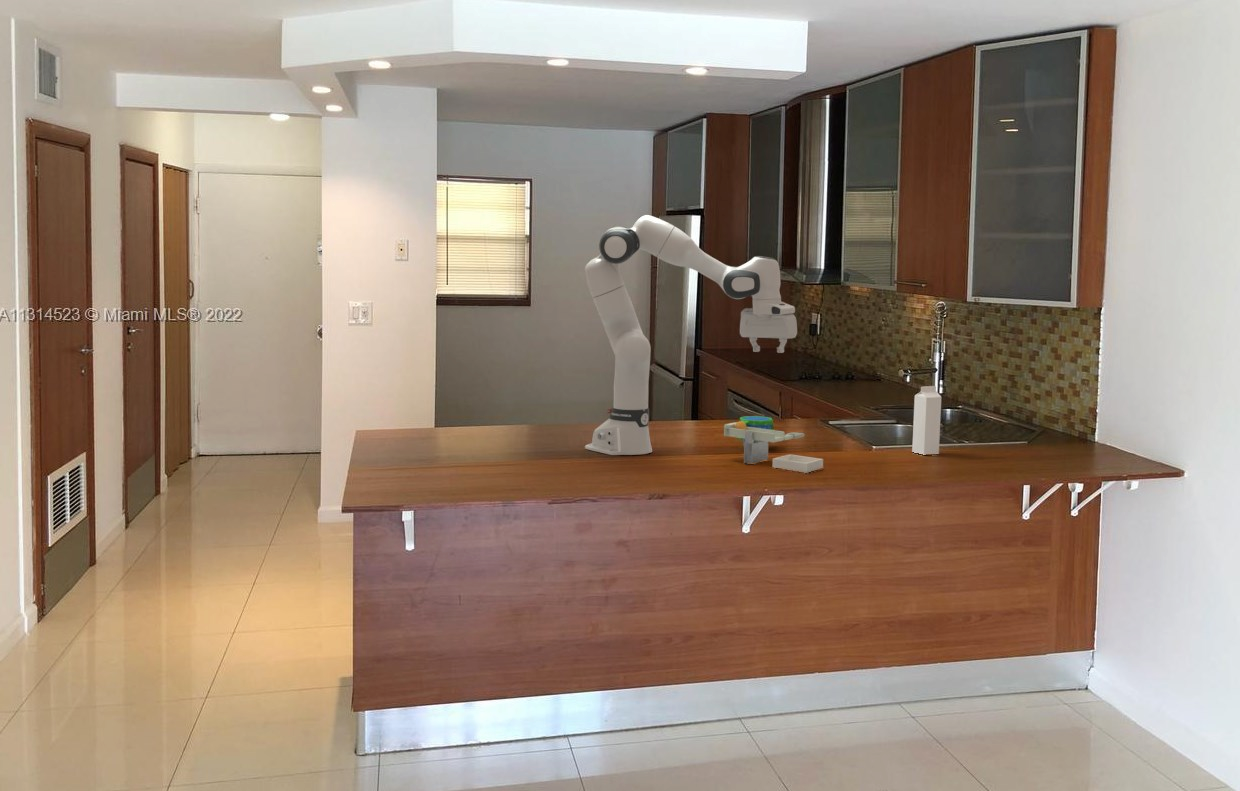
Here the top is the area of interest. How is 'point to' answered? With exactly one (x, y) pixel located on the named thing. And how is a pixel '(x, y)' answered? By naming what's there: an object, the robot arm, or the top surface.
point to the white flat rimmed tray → (798, 463)
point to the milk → (926, 421)
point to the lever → (760, 433)
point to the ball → (740, 425)
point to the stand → (754, 449)
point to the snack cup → (757, 423)
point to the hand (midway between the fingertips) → (768, 352)
